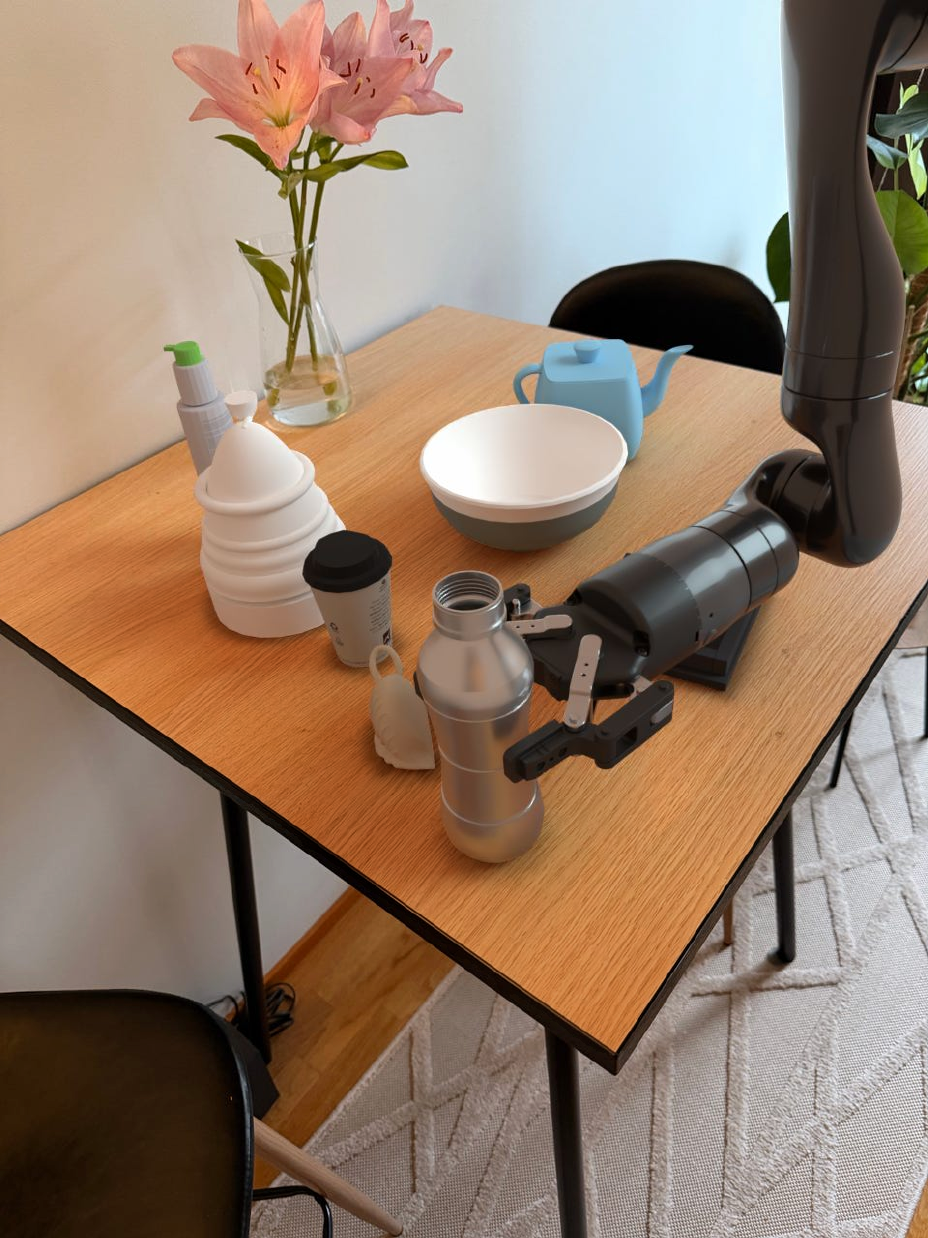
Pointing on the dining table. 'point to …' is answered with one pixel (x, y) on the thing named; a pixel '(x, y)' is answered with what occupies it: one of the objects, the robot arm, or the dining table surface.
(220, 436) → the bottle
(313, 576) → the coffee cup
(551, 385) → the teapot
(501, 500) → the bowl
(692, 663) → the pad
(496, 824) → the silver metal bottle
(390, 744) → the decorative ornament
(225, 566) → the honey pot
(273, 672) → the dining table surface
